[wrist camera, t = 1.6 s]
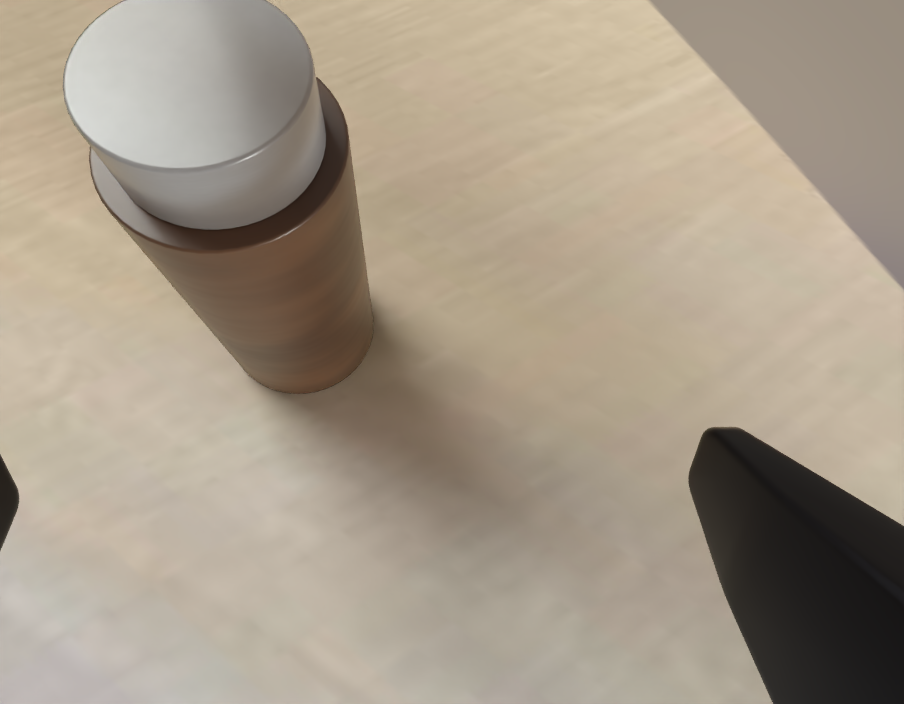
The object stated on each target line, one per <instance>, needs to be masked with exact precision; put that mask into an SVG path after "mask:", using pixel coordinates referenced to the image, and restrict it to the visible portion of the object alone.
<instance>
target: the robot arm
mask: <svg viewBox="0 0 904 704" xmlns="http://www.w3.org/2000/svg"><path fill="white" fill-rule="evenodd" d="M689 488H690V492H691V495H692V498H693V501H694V504H695V507H696V510H697V513H698V516H699V519H700V522H701V525H702V528H703V531H704V534H705V538H706V541H707V544H708V547H709V550H710V553H711V556H712V559H713V562H714V565H715V568H716V571H717V574H718V577H719V580H720V583H721V585H722V588H723V591H724V594H725V596H726V599H727V601H728V603H729V606H730V608H731V610H732V613H733V615H734V617H735V619H736V622H737V624H738V626H739V628H740V631H741V633H742V635H743V637H744V640H745V642H746V644H747V646H748V649H749V651H750V653H751V655H752V658H753V660H754V662H755V664H756V666H757V669H758V671H759V673H760V675H761V678H762V680H763V682H764V684H765V687H766V689H767V691H768V693H769V696H770V698H771V700H772V702H773V704H904V526H903V525H901V524H899V523H898V522H896V521H894V520H893V519H891V518H889V517H888V516H886V515H884V514H883V513H881V512H879V511H878V510H876V509H874V508H873V507H871V506H869V505H868V504H866V503H864V502H863V501H861V500H859V499H858V498H856V497H854V496H853V495H851V494H849V493H848V492H846V491H844V490H843V489H841V488H839V487H838V486H836V485H834V484H833V483H831V482H829V481H828V480H826V479H824V478H823V477H821V476H819V475H818V474H816V473H814V472H813V471H811V470H809V469H808V468H806V467H804V466H803V465H801V464H799V463H798V462H796V461H794V460H793V459H791V458H789V457H788V456H786V455H784V454H783V453H781V452H779V451H778V450H776V449H774V448H773V447H771V446H769V445H768V444H766V443H764V442H763V441H761V440H759V439H758V438H756V437H754V436H753V435H751V434H749V433H748V432H746V431H744V430H742V429H741V428H737V427H712V428H709V429H707V430H706V431H705V432H704V433H703V435H702V437H701V440H700V442H699V445H698V448H697V451H696V454H695V457H694V459H693V462H692V465H691V468H690V471H689ZM18 504H19V493H18V489H17V486H16V484H15V482H14V480H13V478H12V477H11V475H10V473H9V471H8V469H7V467H6V465H5V463H4V461H3V459H2V457H1V455H0V550H1V548H2V546H3V543H4V541H5V538H6V536H7V534H8V531H9V529H10V526H11V524H12V521H13V519H14V517H15V514H16V512H17V509H18Z"/></svg>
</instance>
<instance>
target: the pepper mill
mask: <svg viewBox="0 0 904 704" xmlns="http://www.w3.org/2000/svg"><path fill="white" fill-rule="evenodd" d="M63 91H64V100H65V104H66V107H67V110H68V114H69V115H70V117H71V119H72V121H73V123H74V125H75V127H76V128H77V129H78V131H79V132H80V133H81V135H82V136H83V137H84V138H85V140H86V141H87V142H88V144H89V145H90V155H89V162H90V169H91V176H92V179H93V182H94V186H95V189H96V191H97V193H98V195H99V197H100V199H101V201H102V202H103V204H104V205H105V206H106V208H107V209H108V210H109V212H110V213H111V214H112V216H113V217H114V218H115V219H116V220H117V221H118V223H119V224H120V225H121V226H122V227H123V228H124V230H125V231H126V232H127V233H128V234H129V235H130V237H131V238H132V239H133V240H134V241H135V242H136V244H137V245H138V246H139V247H140V248H141V249H142V251H143V252H144V253H145V254H146V255H147V257H148V258H149V259H150V260H151V261H152V262H153V264H154V265H155V266H156V267H157V268H158V269H159V271H160V272H161V273H162V274H163V275H164V276H165V278H166V279H167V280H168V281H169V282H170V283H171V285H172V286H173V287H174V288H175V289H176V290H177V292H178V293H179V294H180V295H181V296H182V297H183V299H184V300H185V301H186V302H187V303H188V304H189V306H190V307H191V308H192V309H193V310H194V312H195V313H196V314H197V315H198V316H199V317H200V319H201V320H202V321H203V322H204V323H205V324H206V326H207V327H208V328H209V329H210V330H211V331H212V333H213V334H214V335H215V336H216V337H217V338H218V340H219V341H220V342H221V343H222V344H223V345H224V347H225V348H226V349H227V350H228V351H229V352H230V354H231V355H232V356H233V357H234V358H235V359H236V361H237V362H238V363H239V364H240V365H241V367H242V368H243V369H244V370H245V371H246V372H247V373H248V374H249V375H250V376H251V377H252V378H253V379H255V380H256V381H257V382H259V383H261V384H262V385H264V386H266V387H268V388H271V389H274V390H276V391H281V392H285V393H293V394H301V393H311V392H316V391H320V390H323V389H326V388H328V387H331V386H333V385H335V384H337V383H339V382H340V381H342V380H343V379H345V378H346V377H347V376H349V375H350V374H351V373H352V372H353V371H354V370H355V369H356V368H357V367H358V365H359V364H360V363H361V362H362V360H363V358H364V357H365V355H366V353H367V351H368V349H369V347H370V343H371V340H372V335H373V315H372V308H371V300H370V293H369V285H368V278H367V270H366V263H365V255H364V248H363V240H362V233H361V225H360V217H359V210H358V202H357V195H356V187H355V180H354V172H353V165H352V157H351V150H350V142H349V135H348V127H347V124H346V120H345V117H344V114H343V112H342V110H341V108H340V106H339V103H338V102H337V100H336V99H335V97H334V96H333V94H332V93H331V91H330V90H329V89H328V88H327V87H326V86H325V85H324V84H323V82H322V81H321V80H320V79H318V78H317V77H316V75H315V69H314V64H313V59H312V55H311V52H310V48H309V46H308V44H307V42H306V40H305V38H304V36H303V35H302V33H301V32H300V30H299V29H298V27H297V26H296V25H295V24H294V23H293V22H292V20H291V19H290V18H289V17H288V16H287V15H286V14H284V13H283V12H282V11H281V10H280V9H278V8H277V7H276V6H274V5H272V4H271V3H269V2H268V1H266V0H123V1H121V2H120V3H118V4H116V5H115V6H113V7H111V8H109V9H108V10H107V11H105V12H104V13H103V14H101V15H100V16H99V17H97V18H96V19H95V20H94V21H93V22H92V23H91V24H90V25H89V26H88V27H87V28H86V29H85V30H84V32H83V33H82V34H81V35H80V36H79V38H78V39H77V41H76V43H75V44H74V46H73V47H72V49H71V52H70V54H69V56H68V59H67V61H66V65H65V70H64V75H63Z"/></svg>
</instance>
